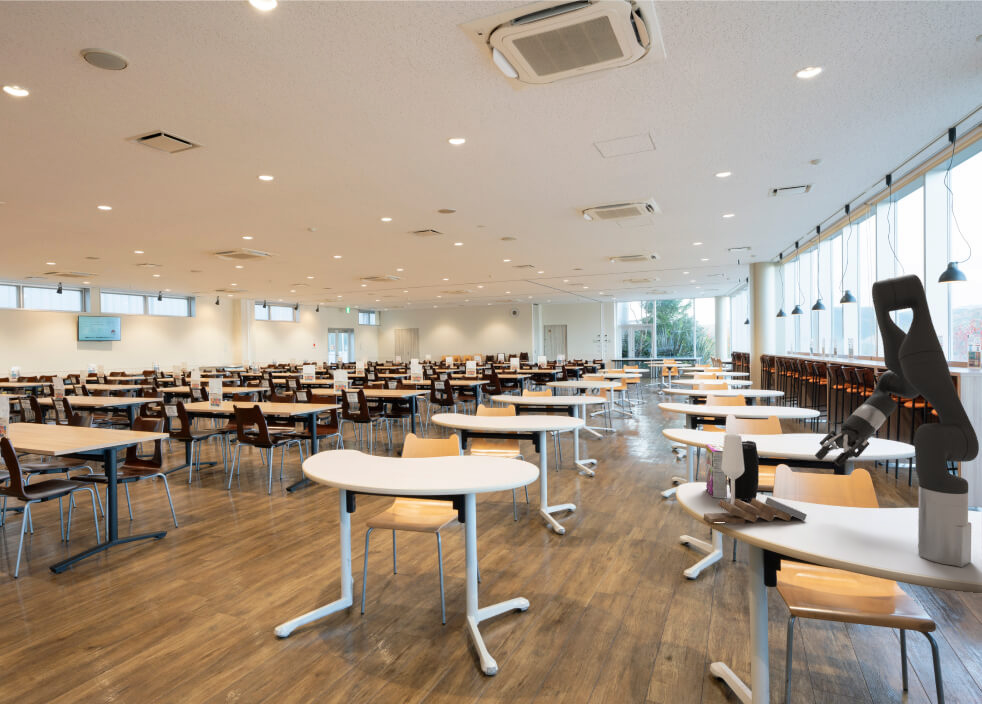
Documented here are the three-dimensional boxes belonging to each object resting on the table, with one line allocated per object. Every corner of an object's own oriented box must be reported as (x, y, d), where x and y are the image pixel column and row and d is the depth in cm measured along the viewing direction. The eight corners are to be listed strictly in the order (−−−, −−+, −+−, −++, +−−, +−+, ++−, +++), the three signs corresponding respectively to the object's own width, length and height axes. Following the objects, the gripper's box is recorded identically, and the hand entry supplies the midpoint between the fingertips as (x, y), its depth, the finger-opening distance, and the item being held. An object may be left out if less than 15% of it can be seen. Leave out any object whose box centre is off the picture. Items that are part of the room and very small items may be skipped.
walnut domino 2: (746, 510, 159) (720, 499, 157) (758, 516, 154) (731, 506, 152) (743, 516, 159) (717, 505, 157) (755, 522, 154) (728, 512, 152)
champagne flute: (716, 508, 168) (716, 434, 168) (730, 504, 172) (730, 432, 171) (735, 514, 162) (735, 437, 162) (749, 510, 166) (749, 435, 165)
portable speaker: (723, 496, 181) (723, 440, 180) (747, 494, 183) (747, 439, 182) (739, 503, 172) (739, 444, 172) (764, 502, 174) (764, 443, 174)
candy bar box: (705, 489, 190) (705, 444, 190) (719, 489, 189) (719, 444, 189) (711, 498, 179) (711, 450, 179) (727, 498, 178) (727, 451, 178)
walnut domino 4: (781, 510, 160) (752, 498, 160) (791, 515, 155) (761, 503, 155) (779, 516, 160) (749, 504, 160) (789, 521, 155) (759, 509, 155)
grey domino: (796, 509, 161) (767, 496, 160) (807, 514, 156) (776, 501, 155) (794, 515, 161) (764, 502, 160) (804, 520, 156) (774, 507, 155)
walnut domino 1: (736, 512, 159) (703, 513, 159) (744, 518, 154) (711, 518, 154) (736, 519, 159) (703, 519, 159) (744, 525, 154) (711, 525, 154)
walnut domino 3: (763, 510, 160) (735, 498, 159) (774, 515, 155) (745, 503, 154) (761, 516, 160) (733, 504, 159) (771, 522, 155) (742, 510, 154)
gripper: (838, 411, 165) (803, 448, 165) (873, 416, 151) (834, 457, 150) (855, 427, 165) (819, 464, 165) (891, 435, 151) (852, 475, 151)
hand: (826, 461), depth 158 cm, fingers open, 8 cm apart
